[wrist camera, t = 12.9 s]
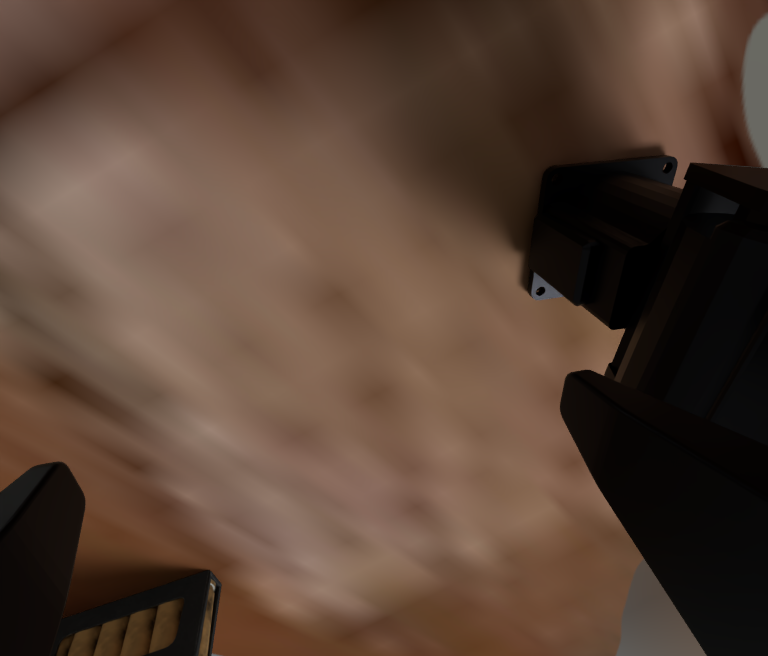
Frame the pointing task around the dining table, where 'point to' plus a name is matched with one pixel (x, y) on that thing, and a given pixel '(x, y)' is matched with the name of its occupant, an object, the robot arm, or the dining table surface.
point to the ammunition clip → (147, 622)
